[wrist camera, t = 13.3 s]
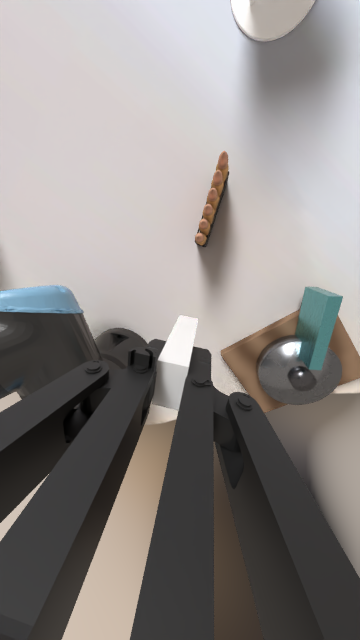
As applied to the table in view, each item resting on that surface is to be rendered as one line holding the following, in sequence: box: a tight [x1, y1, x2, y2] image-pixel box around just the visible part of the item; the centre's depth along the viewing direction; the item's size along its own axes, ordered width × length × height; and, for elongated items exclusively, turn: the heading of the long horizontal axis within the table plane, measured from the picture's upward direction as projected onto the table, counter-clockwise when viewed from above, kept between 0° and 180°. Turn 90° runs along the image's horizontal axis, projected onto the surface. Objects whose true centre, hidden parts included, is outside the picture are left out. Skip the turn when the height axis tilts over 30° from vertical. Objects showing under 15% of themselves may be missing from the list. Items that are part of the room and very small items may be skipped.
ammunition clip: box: [195, 151, 229, 247], centre depth 28 cm, size 11×2×12 cm, turn 163°
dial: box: [256, 287, 343, 405], centre depth 33 cm, size 23×14×7 cm, turn 0°
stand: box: [221, 309, 360, 413], centre depth 39 cm, size 22×18×2 cm
